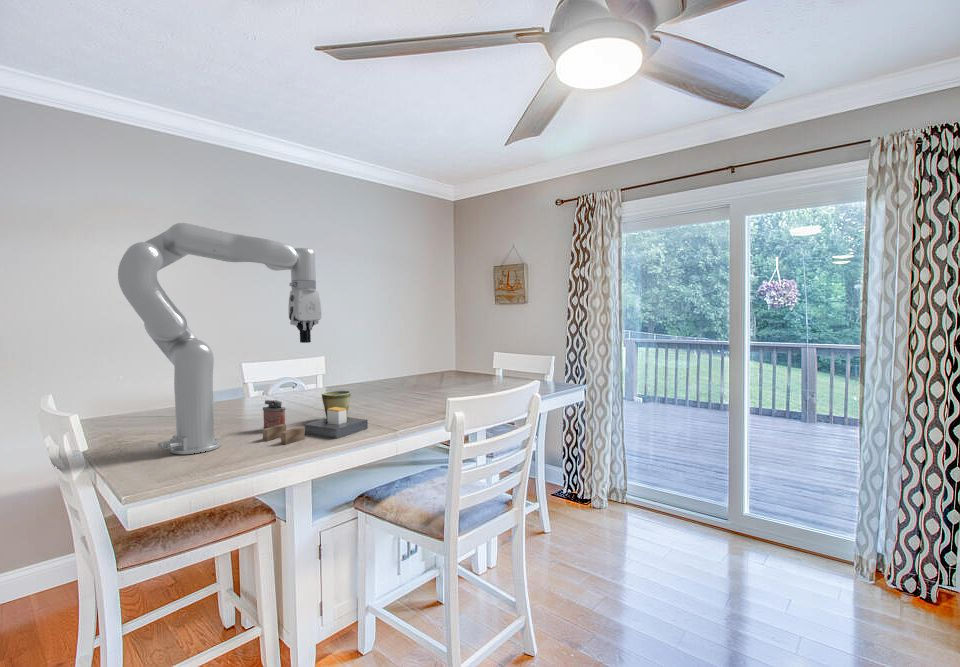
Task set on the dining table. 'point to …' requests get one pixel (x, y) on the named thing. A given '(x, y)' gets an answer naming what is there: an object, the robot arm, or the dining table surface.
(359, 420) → the port block
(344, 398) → the green plant pot
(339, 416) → the white orange-topped block
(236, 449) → the dining table surface
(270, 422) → the lighter
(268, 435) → the holster
